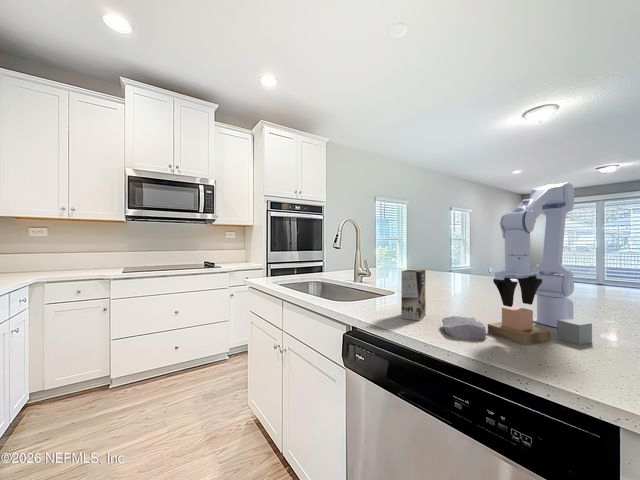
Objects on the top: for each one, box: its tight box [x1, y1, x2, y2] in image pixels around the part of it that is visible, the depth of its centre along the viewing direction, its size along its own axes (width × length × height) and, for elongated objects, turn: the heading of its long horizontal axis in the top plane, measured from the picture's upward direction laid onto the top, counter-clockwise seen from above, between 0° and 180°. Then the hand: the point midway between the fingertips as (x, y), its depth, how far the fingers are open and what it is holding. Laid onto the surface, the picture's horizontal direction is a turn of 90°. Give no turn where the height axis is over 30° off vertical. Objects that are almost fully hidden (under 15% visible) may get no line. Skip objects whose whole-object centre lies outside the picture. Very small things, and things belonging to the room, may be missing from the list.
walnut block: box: [487, 321, 551, 346], centre depth 76 cm, size 10×10×3 cm
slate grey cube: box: [556, 318, 593, 345], centre depth 73 cm, size 5×5×5 cm
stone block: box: [442, 315, 487, 340], centre depth 80 cm, size 12×5×10 cm
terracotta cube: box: [501, 305, 534, 331], centre depth 76 cm, size 5×5×5 cm
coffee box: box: [400, 269, 427, 322], centre depth 96 cm, size 9×6×16 cm
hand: (517, 304), depth 76 cm, fingers open, 7 cm apart
